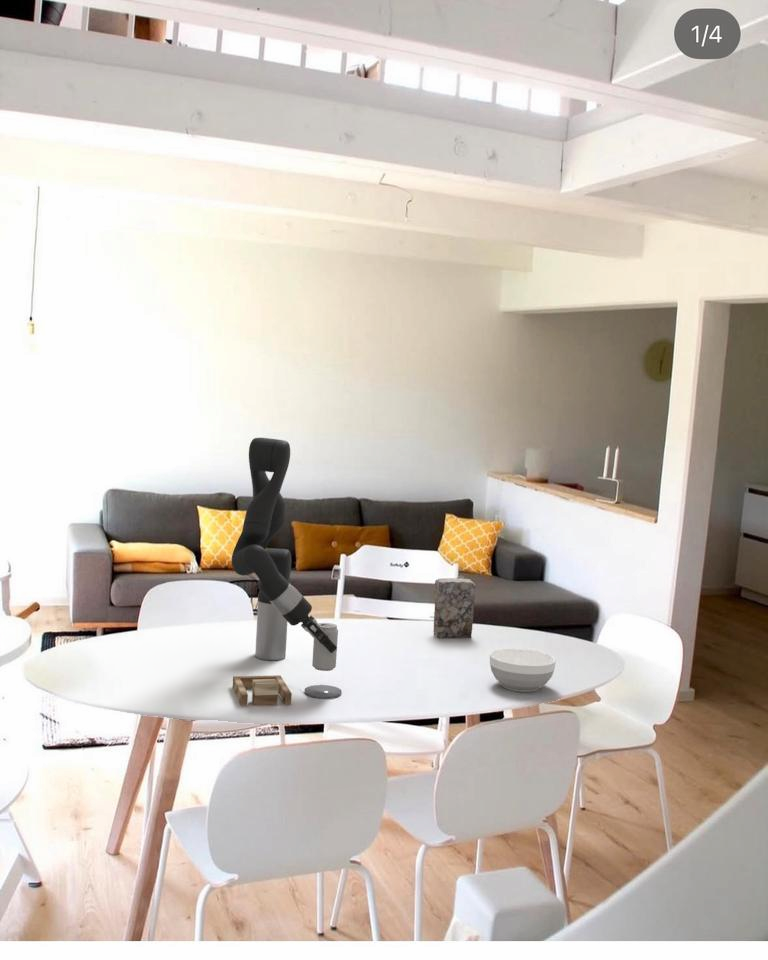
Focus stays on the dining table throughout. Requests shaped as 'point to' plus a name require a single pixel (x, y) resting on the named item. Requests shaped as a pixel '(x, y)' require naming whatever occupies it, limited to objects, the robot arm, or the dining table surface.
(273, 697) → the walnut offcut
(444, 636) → the stone block
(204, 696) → the dining table surface
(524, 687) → the bowl
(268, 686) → the birch offcut
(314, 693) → the slate coaster
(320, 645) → the beverage can
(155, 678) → the dining table surface
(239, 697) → the frame
